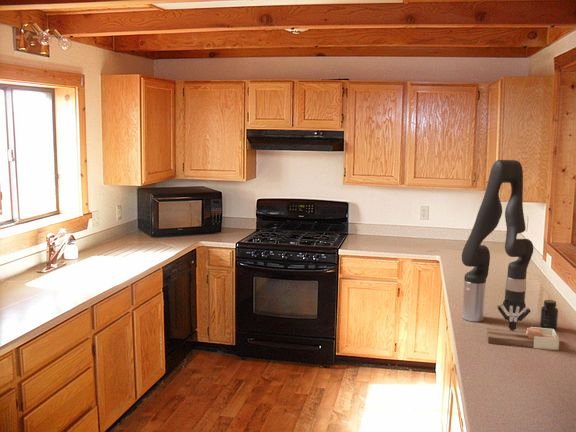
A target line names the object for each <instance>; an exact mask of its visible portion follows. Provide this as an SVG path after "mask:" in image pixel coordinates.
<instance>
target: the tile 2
mask: <svg viewBox="0 0 576 432" xmlns="http://www.w3.org/2000/svg"><path fill="white" fill-rule="evenodd" d="M542 337H547V338H554V336H553V335H547V334H543V335H542Z"/></svg>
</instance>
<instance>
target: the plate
mask: <svg viewBox="0 0 576 432" xmlns="http://www.w3.org/2000/svg"><path fill="white" fill-rule="evenodd" d="M485 334H486V339H487V343H488V344H494V345H504V346H512V347H513V346H514V347H525V348H533V347H534V340H533V339H532V338H528V336H527V334H526V331H519V330H514V331H512V330H509V329H508V330H507V329H499V328H498V329H497V328H487V327H486V331H485ZM533 349H534V348H533Z"/></svg>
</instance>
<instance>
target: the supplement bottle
mask: <svg viewBox="0 0 576 432" xmlns="http://www.w3.org/2000/svg"><path fill="white" fill-rule="evenodd" d="M539 319H540V321H539V328H548V329H554V330H555V331H557V329H558V319H559V309H558V308H557V301H556V300H554V299H545V300H543V306H542V307H541V308H540V318H539Z"/></svg>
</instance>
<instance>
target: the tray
mask: <svg viewBox="0 0 576 432" xmlns="http://www.w3.org/2000/svg"><path fill="white" fill-rule="evenodd" d="M529 328H532V329H536V330H540V331H541V333H542V334H547V335H553V336H554V338H547V337H536V336H534V339H533V340H534V347H533V349H539V350H549V351H559V348H560V337H559V336H558V334H557V333H556V330H554V329H548V328H541V327H534V326H530V327H529Z"/></svg>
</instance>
